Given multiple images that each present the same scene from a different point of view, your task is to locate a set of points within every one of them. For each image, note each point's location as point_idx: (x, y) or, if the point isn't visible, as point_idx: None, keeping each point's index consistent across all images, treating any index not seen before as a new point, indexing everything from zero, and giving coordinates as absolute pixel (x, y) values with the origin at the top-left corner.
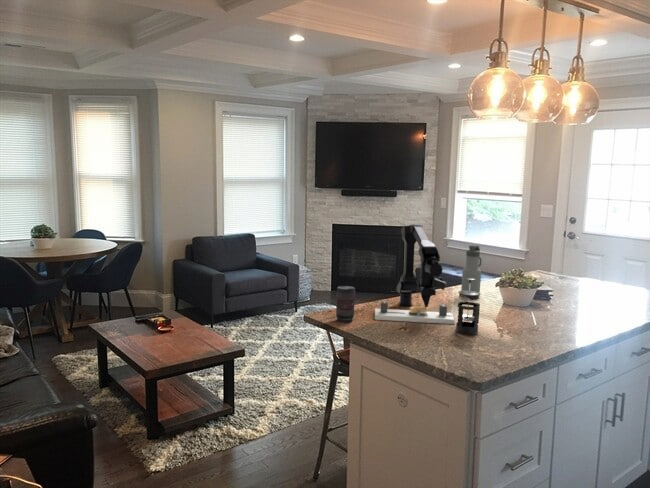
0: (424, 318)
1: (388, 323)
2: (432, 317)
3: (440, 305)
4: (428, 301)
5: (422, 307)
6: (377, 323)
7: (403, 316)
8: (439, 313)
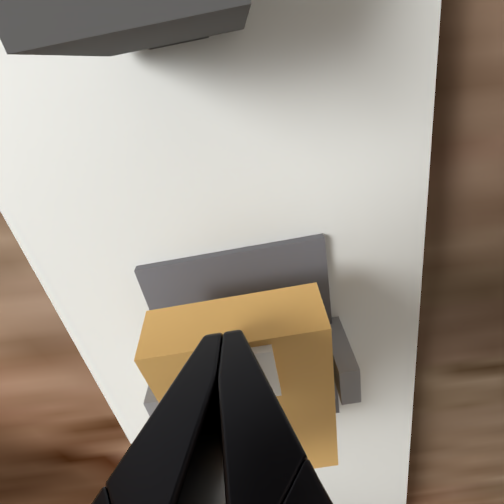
0: (420, 256)
1: (479, 460)
2: (373, 157)
3: (85, 8)
4: (294, 437)
5: (277, 387)
6: (485, 501)
7: (401, 438)
8: (174, 41)
